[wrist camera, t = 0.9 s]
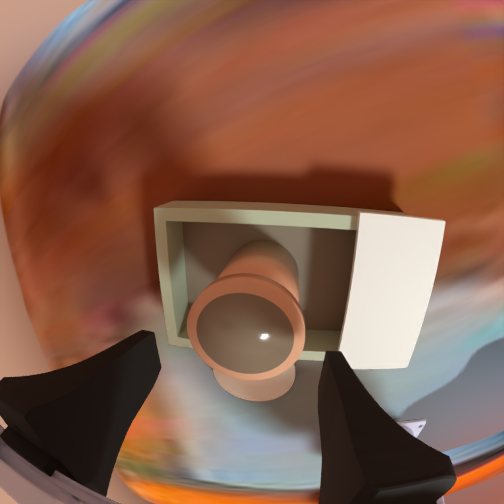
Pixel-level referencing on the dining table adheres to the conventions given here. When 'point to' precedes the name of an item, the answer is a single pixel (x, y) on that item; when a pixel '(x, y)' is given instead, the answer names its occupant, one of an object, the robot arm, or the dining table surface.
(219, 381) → the saucer
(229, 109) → the dining table surface
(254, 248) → the pot
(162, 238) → the box with sliding lid
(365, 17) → the dining table surface
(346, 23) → the dining table surface
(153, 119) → the dining table surface
